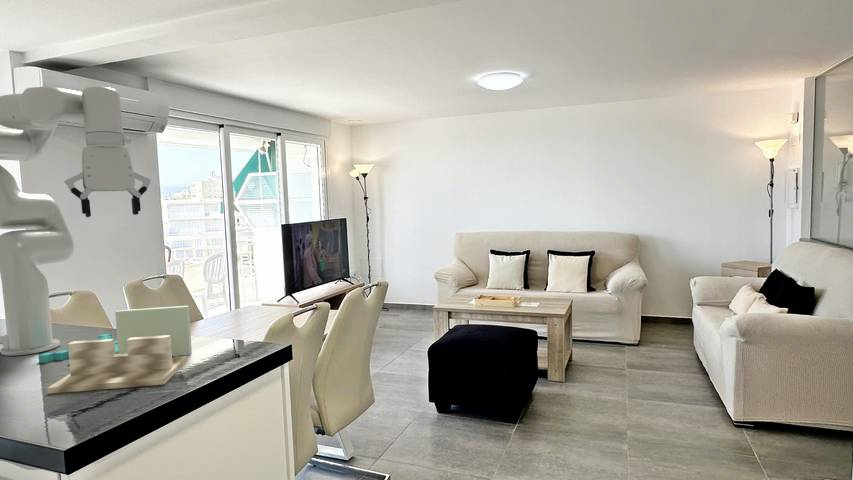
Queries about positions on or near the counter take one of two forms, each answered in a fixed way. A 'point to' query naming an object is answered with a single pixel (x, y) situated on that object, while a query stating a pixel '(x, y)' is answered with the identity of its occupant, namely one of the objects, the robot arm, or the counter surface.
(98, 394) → the counter surface
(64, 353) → the alien figure
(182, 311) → the slotted plate
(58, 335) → the counter surface
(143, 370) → the cross stand
